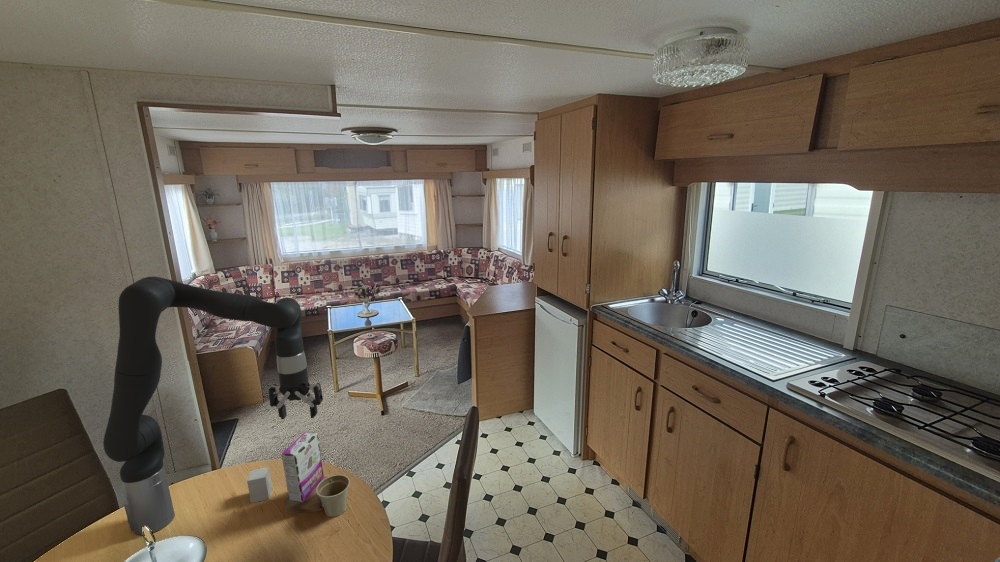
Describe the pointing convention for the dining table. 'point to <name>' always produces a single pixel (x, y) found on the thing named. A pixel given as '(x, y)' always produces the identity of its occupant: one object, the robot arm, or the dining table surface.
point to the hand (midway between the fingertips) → (298, 417)
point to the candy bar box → (302, 466)
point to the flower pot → (334, 494)
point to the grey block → (259, 484)
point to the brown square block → (305, 503)
